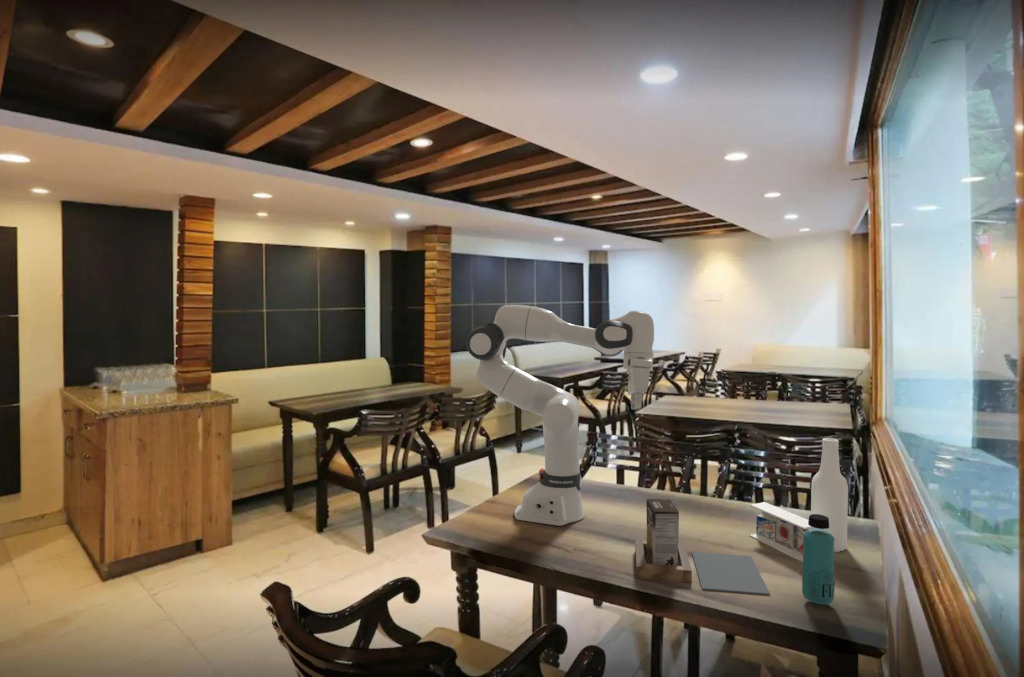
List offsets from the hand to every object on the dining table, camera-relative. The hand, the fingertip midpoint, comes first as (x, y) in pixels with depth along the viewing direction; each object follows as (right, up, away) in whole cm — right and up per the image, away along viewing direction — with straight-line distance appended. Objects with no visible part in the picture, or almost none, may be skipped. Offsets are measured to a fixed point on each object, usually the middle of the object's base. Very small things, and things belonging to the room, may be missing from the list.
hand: (636, 409), depth 171 cm
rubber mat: (+17, -37, -30) cm, 50 cm away
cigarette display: (+38, -37, -16) cm, 55 cm away
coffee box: (+1, -38, -26) cm, 45 cm away
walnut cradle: (+1, -37, -26) cm, 45 cm away
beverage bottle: (+31, -38, -45) cm, 66 cm away
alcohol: (+50, -36, -15) cm, 64 cm away
